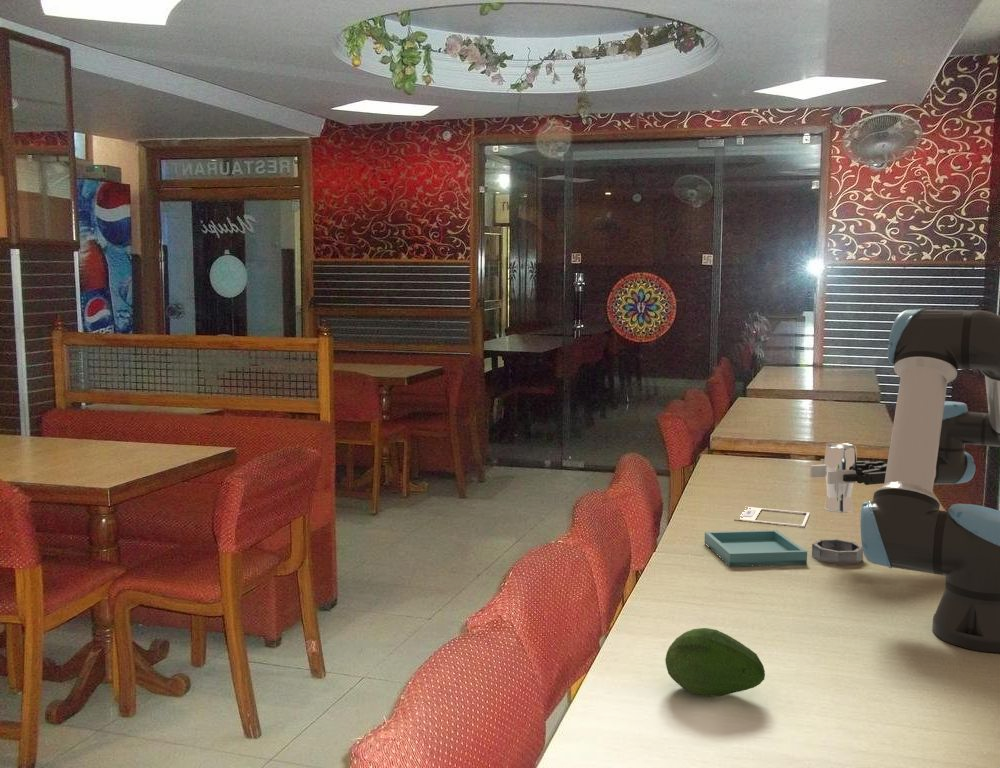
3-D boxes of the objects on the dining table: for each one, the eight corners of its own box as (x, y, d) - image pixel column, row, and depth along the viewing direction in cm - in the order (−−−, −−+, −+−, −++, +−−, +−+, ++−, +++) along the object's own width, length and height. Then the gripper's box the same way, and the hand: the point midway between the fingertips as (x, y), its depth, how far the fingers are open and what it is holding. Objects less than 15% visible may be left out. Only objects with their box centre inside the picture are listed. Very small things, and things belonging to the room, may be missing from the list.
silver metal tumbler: (820, 511, 213) (822, 446, 211) (825, 504, 219) (827, 441, 217) (852, 515, 210) (855, 449, 208) (856, 508, 216) (859, 444, 214)
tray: (806, 564, 211) (807, 551, 211) (729, 566, 209) (729, 553, 209) (775, 542, 229) (776, 530, 228) (704, 544, 227) (704, 532, 227)
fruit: (768, 690, 147) (770, 629, 146) (757, 716, 138) (760, 652, 137) (674, 672, 153) (675, 614, 152) (658, 697, 144) (659, 635, 143)
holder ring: (869, 564, 211) (869, 551, 211) (825, 565, 210) (825, 552, 210) (848, 551, 221) (848, 538, 221) (806, 552, 220) (806, 539, 220)
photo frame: (742, 505, 262) (809, 511, 255) (742, 509, 262) (809, 515, 255) (733, 518, 249) (804, 525, 242) (733, 522, 249) (804, 529, 242)
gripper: (936, 495, 208) (843, 500, 203) (882, 477, 227) (796, 481, 222) (938, 462, 207) (845, 466, 203) (884, 446, 226) (798, 450, 221)
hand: (820, 474), depth 212 cm, fingers closed on silver metal tumbler, 7 cm apart
